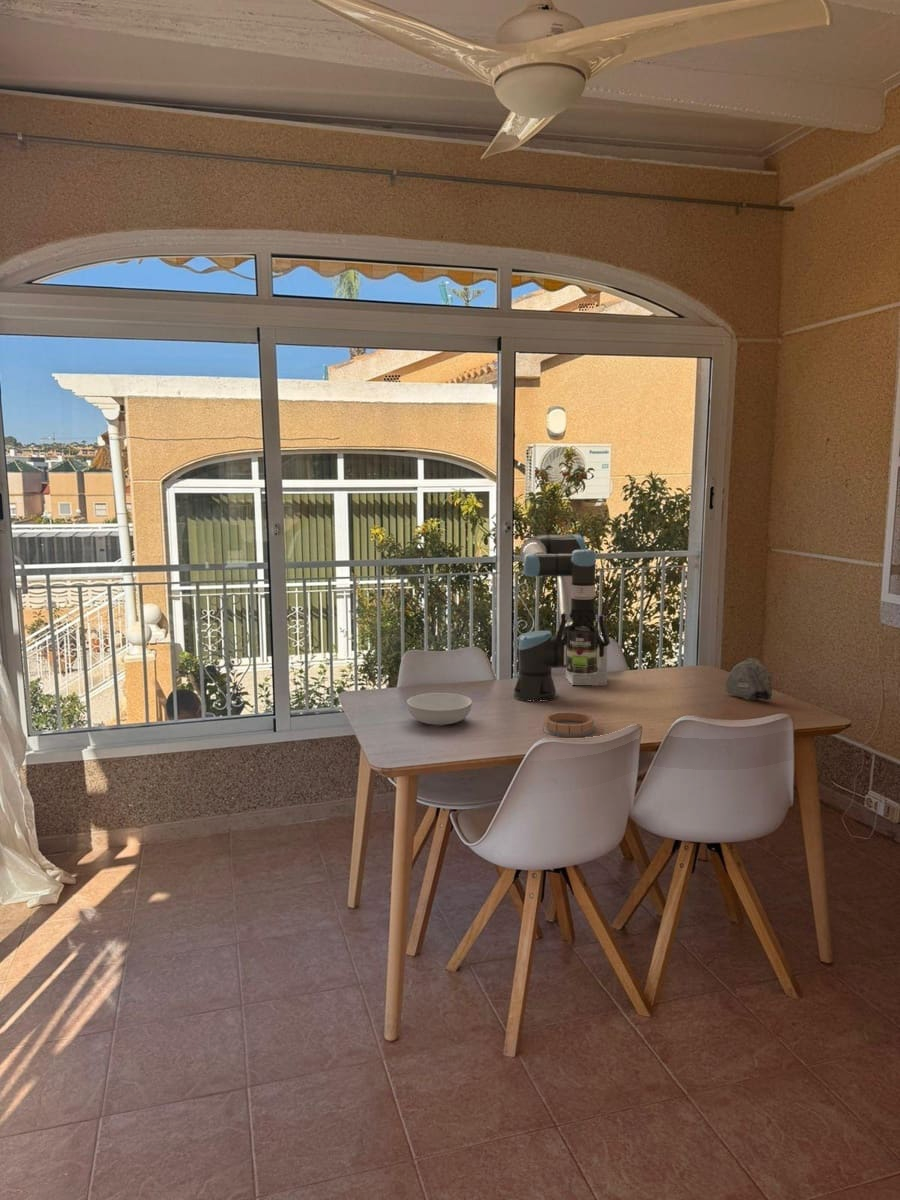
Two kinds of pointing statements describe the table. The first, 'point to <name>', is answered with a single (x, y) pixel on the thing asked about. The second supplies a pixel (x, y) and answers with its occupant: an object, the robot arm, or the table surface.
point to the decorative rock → (749, 681)
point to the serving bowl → (439, 708)
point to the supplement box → (592, 679)
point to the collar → (569, 724)
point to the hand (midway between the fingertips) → (582, 665)
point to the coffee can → (582, 651)
